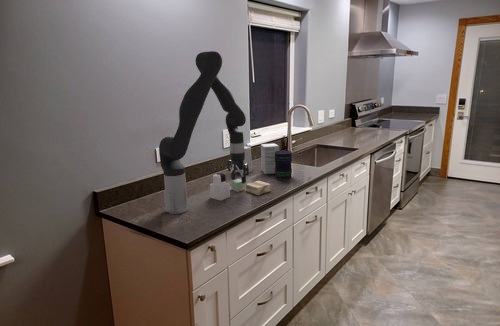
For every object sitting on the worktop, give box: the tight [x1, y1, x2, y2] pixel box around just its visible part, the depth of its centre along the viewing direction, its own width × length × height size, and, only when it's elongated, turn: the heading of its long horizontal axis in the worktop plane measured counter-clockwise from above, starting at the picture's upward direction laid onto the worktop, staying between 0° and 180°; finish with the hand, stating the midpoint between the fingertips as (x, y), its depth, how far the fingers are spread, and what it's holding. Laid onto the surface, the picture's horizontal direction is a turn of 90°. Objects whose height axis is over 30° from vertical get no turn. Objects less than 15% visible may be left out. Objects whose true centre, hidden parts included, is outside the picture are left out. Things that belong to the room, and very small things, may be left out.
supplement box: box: [260, 143, 280, 175], centre depth 215 cm, size 10×9×17 cm
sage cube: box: [230, 178, 246, 193], centre depth 185 cm, size 5×5×5 cm
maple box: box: [245, 180, 272, 196], centre depth 182 cm, size 9×9×4 cm
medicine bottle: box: [209, 172, 231, 202], centre depth 173 cm, size 7×7×12 cm
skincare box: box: [235, 145, 253, 174], centre depth 217 cm, size 8×7×16 cm
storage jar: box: [274, 149, 293, 181], centre depth 203 cm, size 10×10×15 cm
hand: (238, 181), depth 184 cm, fingers open, 8 cm apart
